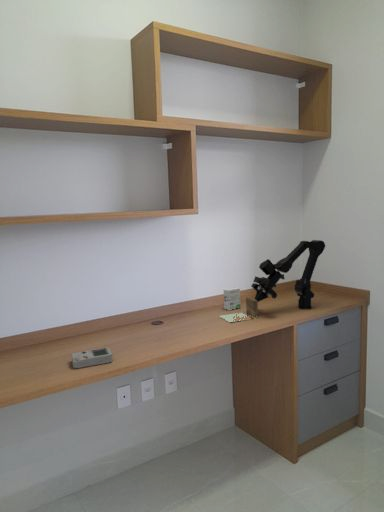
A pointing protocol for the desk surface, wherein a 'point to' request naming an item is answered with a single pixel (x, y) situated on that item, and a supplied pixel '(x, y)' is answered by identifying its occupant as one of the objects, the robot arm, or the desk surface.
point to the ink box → (231, 298)
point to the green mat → (230, 316)
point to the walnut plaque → (252, 307)
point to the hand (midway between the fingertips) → (254, 302)
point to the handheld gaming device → (91, 357)
